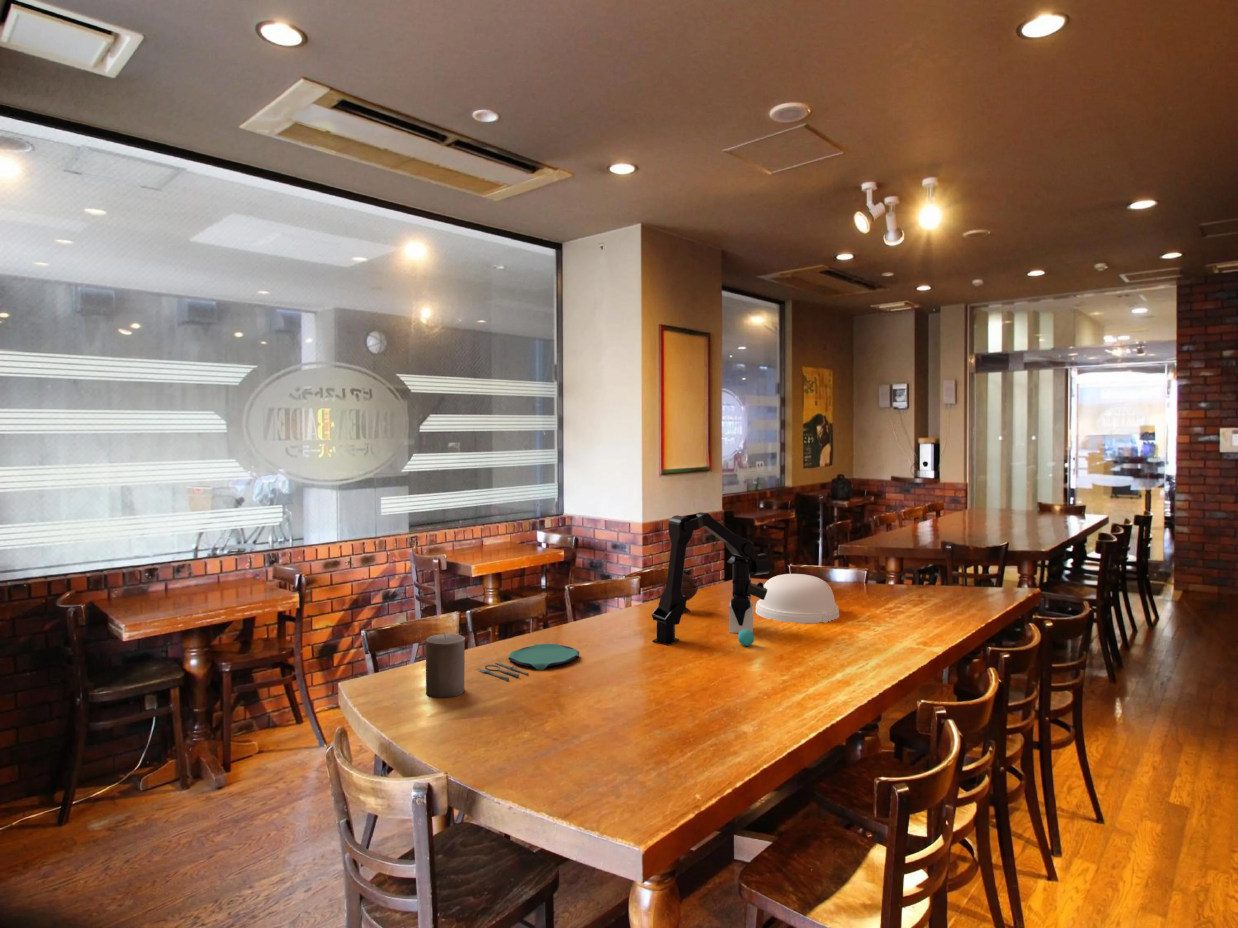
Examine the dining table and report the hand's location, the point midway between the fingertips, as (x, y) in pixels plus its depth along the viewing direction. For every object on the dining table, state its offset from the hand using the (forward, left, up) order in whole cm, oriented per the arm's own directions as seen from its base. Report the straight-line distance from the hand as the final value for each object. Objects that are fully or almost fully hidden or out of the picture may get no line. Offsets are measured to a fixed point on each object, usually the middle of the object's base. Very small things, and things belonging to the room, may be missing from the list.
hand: (741, 622), depth 245 cm
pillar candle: (-96, +40, -3) cm, 103 cm away
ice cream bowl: (+12, +29, -3) cm, 31 cm away
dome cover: (+33, -7, -3) cm, 34 cm away
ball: (-16, -9, 0) cm, 18 cm away
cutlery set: (-65, +37, -3) cm, 75 cm away
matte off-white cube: (0, 0, -3) cm, 3 cm away
